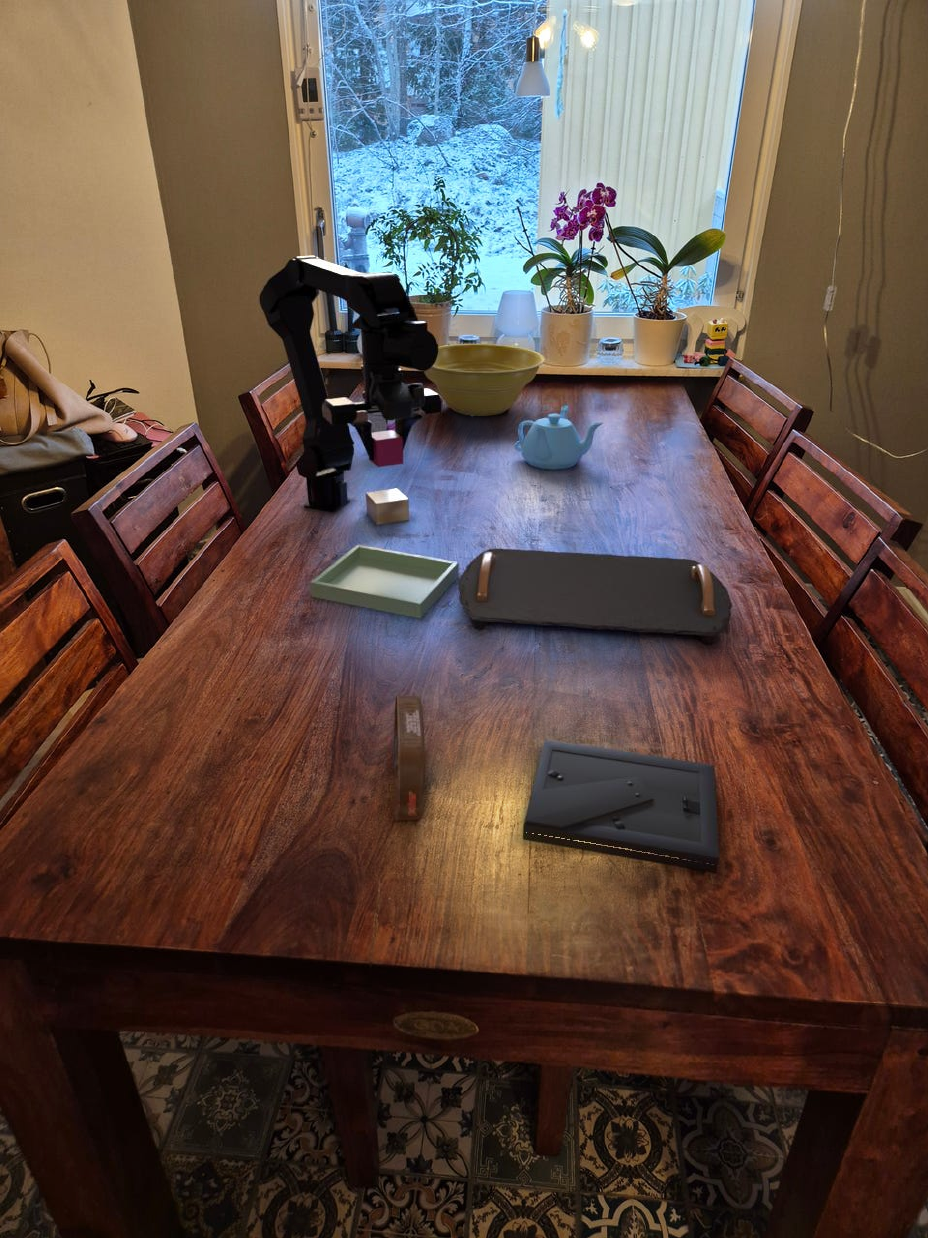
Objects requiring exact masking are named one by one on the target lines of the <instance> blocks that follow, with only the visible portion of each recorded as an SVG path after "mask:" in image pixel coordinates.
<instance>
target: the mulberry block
mask: <svg viewBox="0 0 928 1238" xmlns="http://www.w3.org/2000/svg"><path fill="white" fill-rule="evenodd" d="M372 440H373V448H374V461H371V460H370V458H369V457H368V460H369V461H370V462H371V463H372V464H373V465H374V466H375V467H376V468H383V467H384V468H385V467H389V466H398V465H404V450H403V441H402V436H400V435H399V434H397V433H396V432H395V431H393V430H389V431H381V432H373V433H372Z"/></svg>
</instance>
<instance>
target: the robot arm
mask: <svg viewBox="0 0 928 1238" xmlns="http://www.w3.org/2000/svg"><path fill="white" fill-rule="evenodd" d="M320 292H324V293H325V294H328V295H332V296H334V297H337V298H340V299H342V300H344V301H345V303H346V305H347V307H348V308H349V309H350V310H351V311H353V312H355V313H356V314H358V315H359V316H357V318H356V319H355V320H354V321H353V322H352V324H351V326H352V328H353V329H358V330H360V340H361V356H362V365H360V372H361V373H362V375H363V390H364V391H362V399H364V401H357V402H353V401H352V400H350V399H349V398H348V397H336V398H335V397H334V398H329V395H328V390H327V388H326V384H325V383H326V382H325V380H324V377H323V373H322V369H321V365H320V362H319V358H318V355H317V352H316V348H315V344H314V340H313V337H312V333H311V330H312V326H313V321H314V317H315V310H314V302H315V301H316V300H317V298H318V296H319V295H320ZM258 298H259V299H258V300H259V306H260V309H261V310H262V312H263V314H264V318H265V320H266V323H267V325H268V327H269V328H271V329H272V331H273V332H274V333H276V334H277V336H279V338H280V339H281V340H282V343H283V346H284V350H285V353H286V357H287V361H288V364H289V367H290V371H291V374H292V377H293V381H294V384H295V388H296V391H297V395H298V398H299V402H300V405H301V408H302V412H303V416H304V419H305V426H304V431H303V434H302V438H301V441H302V445H303V452H302V453H301V454H300V455H299V458H298V459H297V461H296V462H295V467H296V470H297V475H299V476H300V477H303V478H305V481H306V482H305V483H306V493H307V502H305V503H304V504H303V508H307V509H311V510H312V509H313V510H319V511H324V512H329V513H331V512H332V513H334V512H336V511H338V510H339V509H340V508H342V507H344V506H345V505H346V504H348V503H349V502H350V501H351V498H350V497H348V485H347V484H348V483H347V480H345V472H350V471H351V469H352V464H353V459H354V455H355V448H354V445H355V442H354V440H353V438H352V435H351V431H350V426H349V425H351V426H352V427H353V428H355V431H356V432H357V434H358V436H359V438H360V440H361V443H362V445H363V447H364V450H365V451H366V453H367V456H368V459H369V458H370V460H371V461H374V448H373V440H372V433H371V429H372V424H373V423H372V422H370V421H369V420H368V414H369V413H378V412H381V414H382V417H383V418H384V419H386V420H394V419H395V432H396V433H397V434H399V435H400V436H402V441H403V451H404V450H405V448H406V447H405V446H406V443H407V440H408V438H409V435H410V432H411V431H412V428H413V426H414V425H415V424H416V423H417V422H418V421H420V420H421V421H422V420H423V418H424V416H423V415H422V414H420V413H421V411H422V412H423V414H425V415H430V414H441V413H443V411H444V400H443V398H442V396H441V394H440V393H437V392H436V391H434V390H432V389H431V388H425V386H424V385H423V383H422V382H415V383H409V384H406V383H405V380H404V373H403V369H401V368H406V369H410V370H414V371H418V372H424V371H426V370H428V369H430V368H431V367H432V366H433V365H434V363H435V361H436V359H437V356H438V347H439V344H438V342H437V339H436V337H435V335H434V334H433V333H432V332H431V331H429V330H428V322H427V321H418V320H419V318H418V315H417V314H416V312H415V311H416V310H415V308H414V307H413V305H412V303H411V301H410V299H409V296H408V295H407V292H406V290H405V288H404V286H403V284H402V283H401V278H400V277H399V275H397V274H396V273H393V272H360V271H356V270H353V269H350V268H347V267H344V266H341V265H338V264H335V263H333V262H329V261H326V260H324V259H321V258H320V257H318V256H315V255H305V256H304V255H303V256H294V257H292V258H290V259H289V260H288V261H287V263H286V264H285V266H284V267H283V268H282V269H280V270H279V271H278V272H277V273H275V274H274V275H273V276H271V277H270V278H268V280H267V281H266V283H265V284H264V286H263V287H262V290H261V291H260V293H259V297H258ZM400 367H401V368H400ZM376 406H377V407H376ZM370 460H369V461H370ZM371 461H370V462H371Z"/></svg>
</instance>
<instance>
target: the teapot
mask: <svg viewBox="0 0 928 1238" xmlns="http://www.w3.org/2000/svg"><path fill="white" fill-rule="evenodd" d="M568 410H569V405H568V404H563V405H562V407H561V408H560V414H559V413H549V414H547V417H542V418H539V419H537V420H535V422H534V421H533V420H529V419H528V420H523V421H521V422H520V423H519V425H518V427H517V433H518V439H519V440H517V441H516V442H515V443H514V449H515V450H516V451H517V452H520V454H521V456H522V458H523V459H524V461H525V462H526V463H527V464H528V465H530V466H532V467H534V468H539V469H544V470H564V469H570V468H572V467H574V466H575V465H576V464H578V463H579V461H581V459H582V458H583V456H584V455H586V453H587V452H589V450H590V449H591V448H592V445H593V440H594V435H595V432H596V430H598V429H597V428H598V427H600V426H602V425H603V424H604V422H595V423H592V424H590V426H589V427H588V429H587V432H586V436H585V438H584V440H582V439H581V436H580V434H579V433H578V430H577V429H576V427H575V426H574V425H575V424H573V422H572V421H570V420H568ZM525 425H527V426H531V427H530V428H529V430H528V431H527V432H526V435H525V437H524V430H523V428H524V426H525ZM519 444H520V445H519Z"/></svg>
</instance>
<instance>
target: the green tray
mask: <svg viewBox="0 0 928 1238" xmlns="http://www.w3.org/2000/svg"><path fill="white" fill-rule="evenodd" d="M459 563H460V562H459V561H454V560H448V559H442V558H438V557H437V558H436V557H430V556H425V555H419V554H413V553H407V552H401V551H397V550H391V549H385V548H380V547H374V546H368V545H362V544H356V545H354V546H353V547H351V549H350V550H348V551H347V552H346V553H345V554H344V555H342V556H341V557H339V559H336V560H335V562H333V563H332V564H331V565H330V566H329V567H327V568H326V569H325V570H323V571H322V572H321V573H320V574H318V575H317V576H316V577H314V579H312V580H310V583H309V584H310V597H311V598H317V599H320V600H326V601H330V602H335V603H341V604H346V605H350V606H357V607H361V608H365V609H370V610H376V611H380V612H385V613H390V614H396V615H400V616H405V617H411V618H415V619H420V620H421V619H422V618H423V617H424V616H425V614H427V612H428V611H429V610H430V609H431V608H432V607H433V606H434V604H435V603H436V602H437V601H438V600H439V599H440V598H441V597H442V595H443V594H444V593H445V592H446V591H447V590H448V589H449V588H450V587H451V585H452V584H453V583H454V582H455V581H456V580H457V579H458V578H459V576H460V575H459V572H460V570H459V567H460V564H459Z"/></svg>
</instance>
